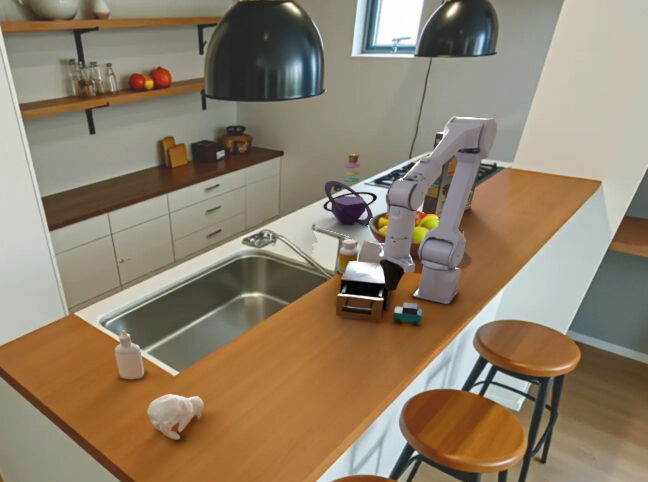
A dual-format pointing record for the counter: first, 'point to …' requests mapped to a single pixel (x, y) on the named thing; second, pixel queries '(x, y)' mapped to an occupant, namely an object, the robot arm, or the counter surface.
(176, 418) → the white animal figurine
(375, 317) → the drawer
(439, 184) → the cake mix box
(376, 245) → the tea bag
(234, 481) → the counter surface
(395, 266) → the robot arm
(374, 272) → the cabinet
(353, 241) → the supplement bottle
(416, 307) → the toy car
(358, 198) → the decorative bottle
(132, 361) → the eye dropper bottle
